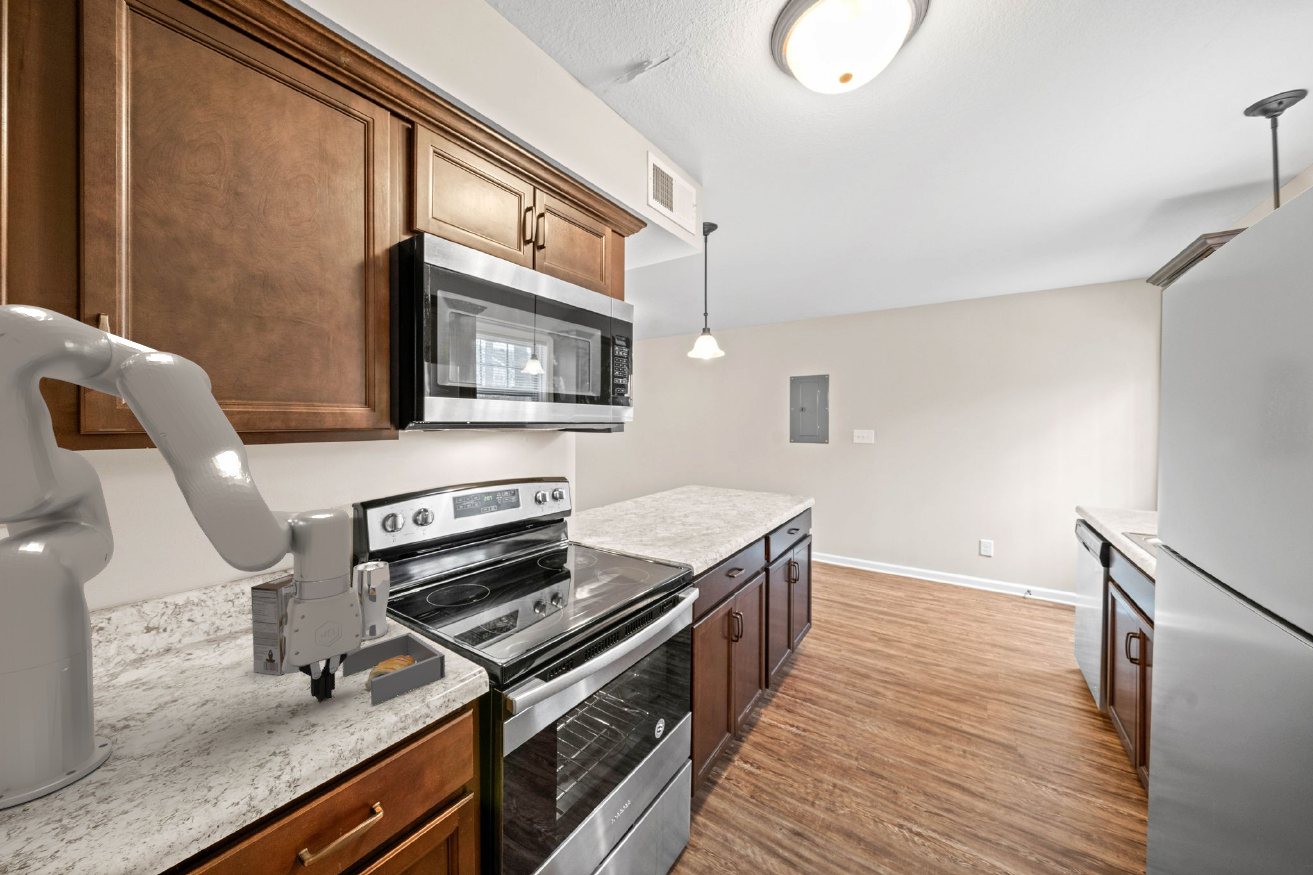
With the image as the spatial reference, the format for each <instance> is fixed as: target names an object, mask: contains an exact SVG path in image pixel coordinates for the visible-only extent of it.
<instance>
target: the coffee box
mask: <svg viewBox="0 0 1313 875" xmlns="http://www.w3.org/2000/svg"><path fill="white" fill-rule="evenodd" d="M292 579H294V572H293V573H290V574H287V575H285V576H281V577H277V578H276V579H275V578H274V579H272V580H269V581H265V582H263V583H260V584H256V585H252V586H251V587H250V590H251V591H250V592H251V618H252V620H251V621H252V650H253V651H252V654H253V657H252V658H253V672H254V673H255V672H259V673H258V674H263V673H265V674H264V675H272V674H275V675H274V676H280V675H281V676H282V674H283V675H286V674H285V673H284V672H283V671H282V665H283V661H284V657H283V632H284V623H285V616H286V611H287V606H288V602H289V599H290V598H293V597H294V596H293V595H289V594H288V595H283V593H282V588H283V587H285V586H288V585H290V584H291V582H292Z"/></svg>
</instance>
